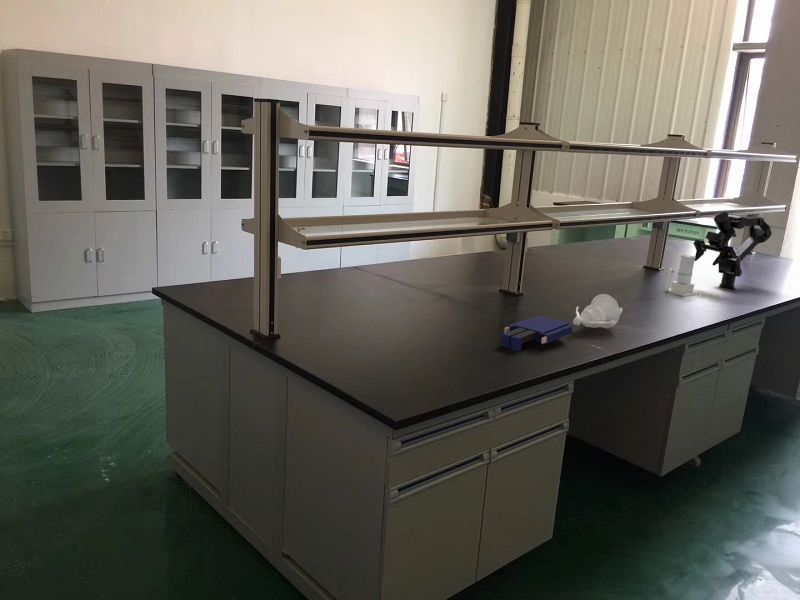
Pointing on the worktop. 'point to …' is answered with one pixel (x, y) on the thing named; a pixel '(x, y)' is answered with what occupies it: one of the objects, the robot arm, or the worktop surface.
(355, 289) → the worktop surface
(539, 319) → the blue flat boxy piece
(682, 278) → the column
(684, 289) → the stand
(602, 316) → the figurine
